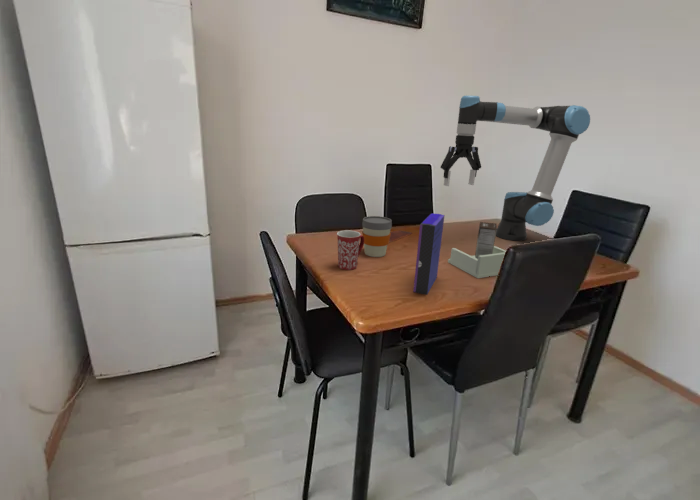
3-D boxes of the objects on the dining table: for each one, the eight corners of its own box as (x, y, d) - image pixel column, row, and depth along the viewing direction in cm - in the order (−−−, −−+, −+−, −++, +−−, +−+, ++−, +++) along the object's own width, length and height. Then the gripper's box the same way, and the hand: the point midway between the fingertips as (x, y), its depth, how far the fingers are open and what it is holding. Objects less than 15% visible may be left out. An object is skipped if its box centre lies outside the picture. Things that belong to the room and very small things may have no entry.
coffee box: (474, 258, 165) (479, 221, 160) (490, 260, 163) (496, 223, 158) (473, 266, 157) (479, 226, 152) (490, 268, 155) (497, 228, 150)
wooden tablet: (384, 245, 184) (384, 242, 183) (367, 240, 190) (367, 237, 189) (415, 234, 203) (415, 231, 202) (399, 230, 209) (399, 227, 208)
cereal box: (424, 274, 150) (431, 212, 142) (437, 277, 148) (444, 214, 141) (413, 292, 135) (420, 223, 127) (427, 294, 133) (435, 225, 125)
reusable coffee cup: (395, 254, 171) (398, 220, 166) (377, 260, 162) (379, 225, 158) (373, 246, 179) (375, 214, 174) (354, 252, 170) (356, 219, 166)
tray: (485, 257, 172) (488, 238, 169) (517, 272, 157) (521, 251, 154) (447, 262, 164) (450, 242, 161) (477, 278, 149) (481, 257, 146)
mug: (346, 272, 149) (348, 238, 144) (331, 265, 155) (332, 232, 150) (370, 265, 157) (372, 232, 152) (354, 259, 163) (356, 227, 159)
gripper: (482, 134, 176) (475, 182, 182) (435, 133, 166) (430, 184, 172) (494, 136, 169) (486, 185, 176) (446, 134, 159) (440, 187, 166)
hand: (458, 185), depth 174 cm, fingers open, 13 cm apart
